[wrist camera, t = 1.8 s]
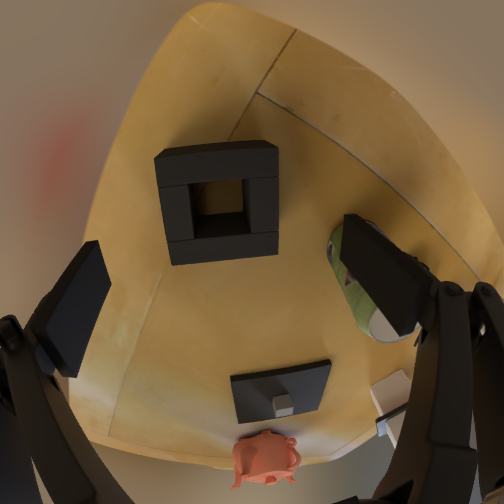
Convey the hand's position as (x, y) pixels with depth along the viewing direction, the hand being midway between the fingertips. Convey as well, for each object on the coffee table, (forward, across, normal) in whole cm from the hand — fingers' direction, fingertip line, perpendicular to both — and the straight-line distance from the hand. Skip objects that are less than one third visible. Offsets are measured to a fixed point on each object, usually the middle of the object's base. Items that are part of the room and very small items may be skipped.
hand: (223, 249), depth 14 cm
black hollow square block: (+10, 0, 0) cm, 10 cm away
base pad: (+10, +6, -31) cm, 33 cm away
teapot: (+10, +2, -51) cm, 52 cm away
